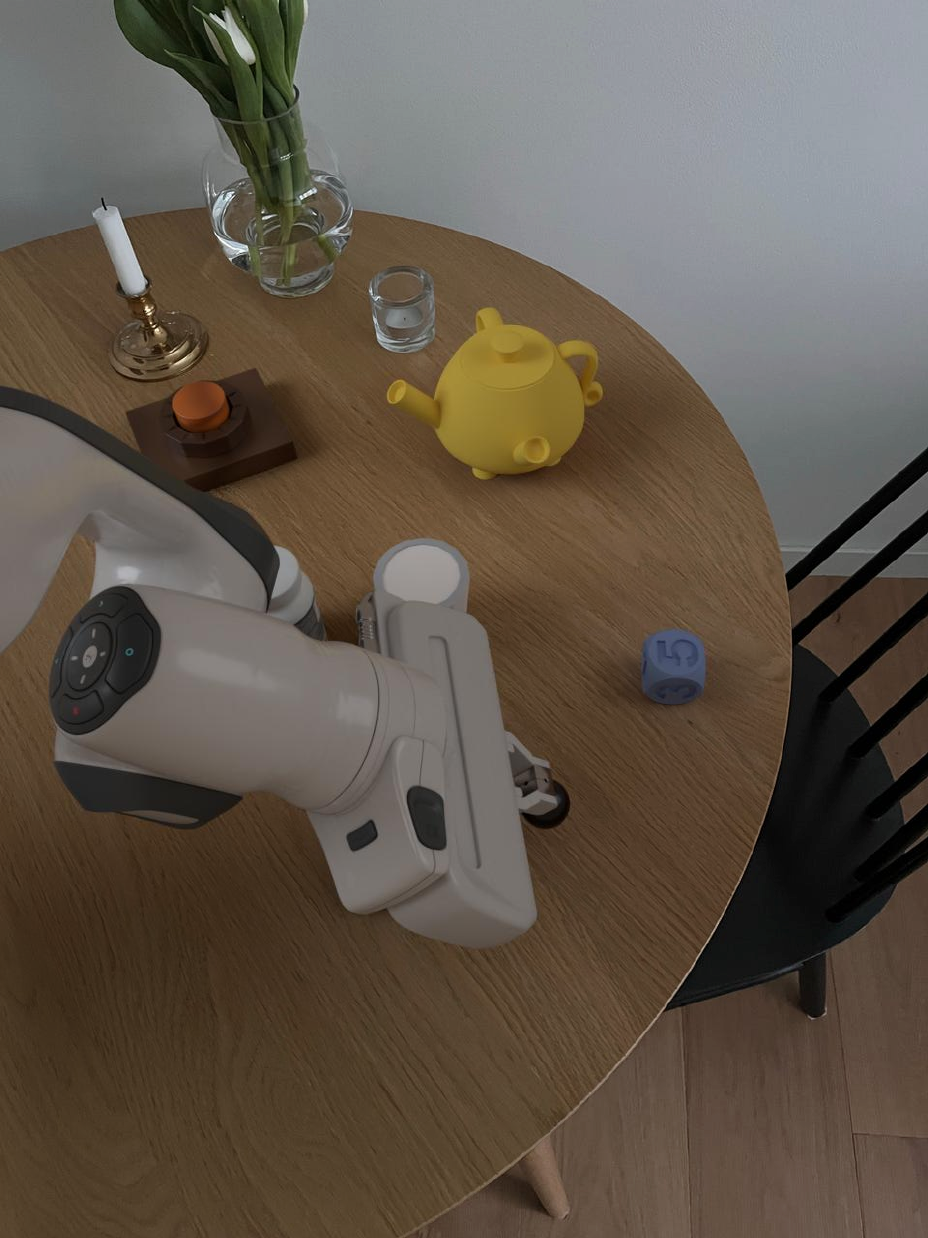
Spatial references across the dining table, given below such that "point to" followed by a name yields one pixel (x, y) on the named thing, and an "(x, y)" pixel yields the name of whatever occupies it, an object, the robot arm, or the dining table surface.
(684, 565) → the dining table surface
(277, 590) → the pill bottle
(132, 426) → the button block
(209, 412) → the button
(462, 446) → the teapot
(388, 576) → the white faceted cylinder
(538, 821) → the silver lever with knob
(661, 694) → the decorative dice
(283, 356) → the dining table surface
